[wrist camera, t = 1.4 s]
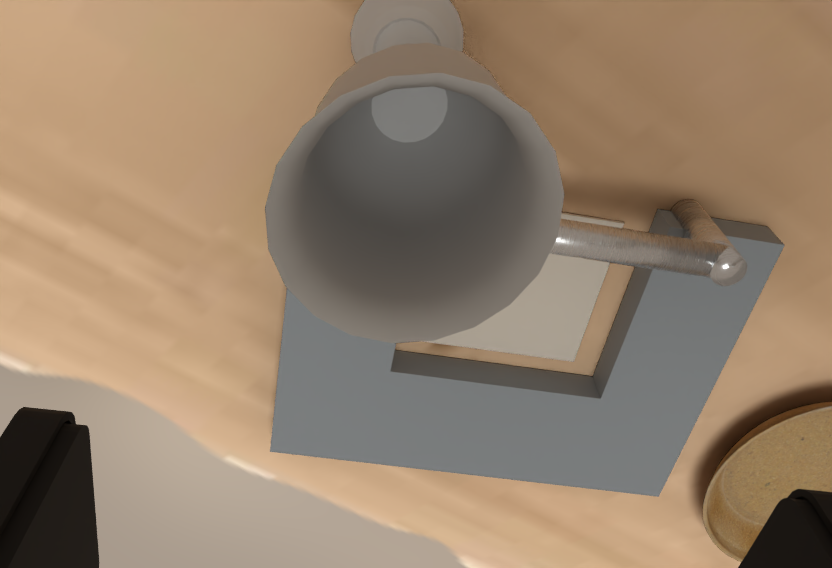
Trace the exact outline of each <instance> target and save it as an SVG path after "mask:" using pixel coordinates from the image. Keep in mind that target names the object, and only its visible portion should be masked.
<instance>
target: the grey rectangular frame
mask: <svg viewBox="0 0 832 568" xmlns="http://www.w3.org/2000/svg"><path fill="white" fill-rule="evenodd" d="M710 218H711V217H710ZM711 219H712V220H713V221H714V223H715V224H716V225H717V226H718V228H719V229H720V230H721V231H722V232H723V234H724V235H725V236H726V237H727V239H728V240H729V241H730V242H731V244H732V245H733V246H734V247H735V248H736V250H737V251H738V252H739V253H740V255H741V256H742V257H743V258H744V259H745V261H746V263H747V272H746V274H745V276H744V277H743V278H742V279H741V280H740V281H739V282H737V283H736V284H733V285H730V286H720V285H717V284H716V283H714V282H713V280H712V279H711V278H707V277H701V276H694V275H687V274H681V273H674V272H668V271H661V270H654V269H648V268H641V267H635V269H634V271H633V274H632V277H631V279H630V282H629V284H628V287H627V289H626V292H625V295H624V297H623V300H622V302H621V305H620V307H619V310H618V313H617V315H616V318H615V320H614V323H613V326H612V328H611V331H610V333H609V336H608V338H607V341H606V344H605V346H604V349H603V351H602V354H601V357H600V359H599V362H598V364H597V367H596V369H595V372H594V375H593V376H585V375H578V374H570V373H563V372H555V371H548V370H540V369H533V368H525V367H518V366H510V365H503V364H495V363H488V362H480V361H473V360H465V359H458V358H450V357H443V356H435V355H428V354H420V353H413V352H405V351H398V350H395V346H396V343H388V342H383V341H378V340H373V339H368V338H363V337H358V336H353V335H350V334H348V333H346V332H344V331H342V330H340V329H338V328H337V327H335V326H333V325H331V324H329V323H327V322H325V321H323V320H321V319H319V318H318V317H316V316H314V315H313V314H312V313H311V312H310V311H309V310H308V309H307V308H306V307H305V306H304V305H303V304H302V303H301V302H300V301H299V300H298V299H297V298H296V297H295V296H294V295H293V294H292V292H291V291H290V290H289V289H288V288H287V293H286V303H285V313H284V322H283V332H282V342H281V351H280V361H279V370H278V380H277V390H276V399H275V409H274V419H273V428H272V438H271V448H270V452H278V453H287V454H295V455H304V456H313V457H321V458H330V459H338V460H347V461H356V462H364V463H373V464H382V465H390V466H399V467H407V468H416V469H425V470H433V471H442V472H451V473H459V474H468V475H477V476H485V477H494V478H502V479H511V480H520V481H528V482H537V483H546V484H554V485H563V486H571V487H580V488H589V489H597V490H606V491H615V492H623V493H632V494H641V495H649V496H658V497H659V495H660V493H661V491H662V489H663V487H664V485H665V483H666V481H667V479H668V477H669V475H670V473H671V471H672V469H673V467H674V465H675V463H676V461H677V459H678V457H679V455H680V453H681V451H682V449H683V447H684V445H685V443H686V441H687V439H688V437H689V435H690V433H691V431H692V429H693V427H694V425H695V423H696V421H697V419H698V417H699V415H700V413H701V411H702V409H703V407H704V405H705V403H706V401H707V399H708V397H709V395H710V393H711V391H712V389H713V387H714V385H715V383H716V381H717V379H718V377H719V375H720V373H721V371H722V369H723V367H724V365H725V363H726V361H727V359H728V357H729V355H730V353H731V351H732V349H733V347H734V345H735V343H736V341H737V339H738V337H739V335H740V333H741V331H742V329H743V327H744V325H745V323H746V321H747V319H748V317H749V315H750V313H751V311H752V309H753V307H754V305H755V303H756V301H757V299H758V297H759V295H760V293H761V291H762V289H763V287H764V285H765V283H766V281H767V279H768V277H769V275H770V273H771V271H772V269H773V267H774V265H775V263H776V261H777V259H778V257H779V255H780V253H781V251H782V249H783V247H784V244H783V243H782V242H781V241H780V239H779V238H778V237H777V236H776V235H775V234H774V233H773V232H772V231H771V230H770V229H769V228H768V227H767V226H760V225H754V224H748V223H742V222H736V221H729V220H723V219H717V218H711ZM649 233H656V234H662V235H668V236H675V237H681V238H683V227H682V226H681V225H680V223H679V222H678V220H677V219H676V218H675V216H674V215H673V214H672V212H671V211H667V210H661V209H657V212H656V215H655V217H654V220H653V222H652V225H651V227H650V230H649Z"/></svg>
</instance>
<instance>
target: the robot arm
mask: <svg viewBox="0 0 832 568" xmlns="http://www.w3.org/2000/svg"><path fill="white" fill-rule="evenodd" d="M0 568H99V554H98V540H97V527H96V514H95V501H94V488H93V475H92V462H91V449H90V436H89V429H88V427H87V426H86V425H77V424H76V423H75V417H74V415H73V413H72V412H66V411H56V410H47V409H38V408H28V407H23V408H21V409H20V410H19V411H18V412H17V413H16V414H15V415H14V417H13V418H12V420H11V421H10V423H9V425H8V426H7V428H6V429H5V431H4V432H3V434H2V436H1V437H0ZM738 568H832V492H826V491H816V490H807V489H797V490H794V491H792V492H791V494H790V495H789V496H788V497H787V498H784V499H782V500H780V501H779V503H778V504H777V505H776V507H775V509H774V510H773V512H772V514H771V515H770V517H769V518H768V520H767V522H766V523H765V525H764V527H763V528H762V530H761V531H760V533H759V535H758V536H757V538H756V540H755V541H754V543H753V544H752V546H751V548H750V549H749V551H748V553H747V554H746V556H745V557H744V559H743V561H742V562H741V564H740V566H739V567H738Z"/></svg>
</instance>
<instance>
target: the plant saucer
mask: <svg viewBox="0 0 832 568" xmlns="http://www.w3.org/2000/svg"><path fill="white" fill-rule="evenodd" d="M797 489H807V490H816V491H826V492H832V402H824V403H816V404H811V405H806V406H802V407H798V408H795V409H792V410H789V411H786V412H784V413H781V414H779V415H776V416H774V417H772V418H770V419H768V420H766V421H765V422H763V423H762V424H760V425H758V426H757V427H755V428H754V429H753V430H751V431H750V432H749V433H747V434H746V435H745V436H744V437H743V438H741V439H740V440H739V441H738V442H737V443H736V444H735V445H734V446H733V447H732V448H731V450H730V451H729V452H728V453H727V454H726V456H725V457H724V458H723V459H722V461H721V462H720V464H719V465H718V467H717V469H716V471H715V473H714V474H713V476H712V478H711V481H710V483H709V486H708V488H707V492H706V494H705V498H704V502H703V521H704V525H705V528H706V531H707V533H708V534H709V536H710V538H711V540H712V541H713V543H714V544H715V545H716V546H717V547H718V548H719V549H720V550H721V551H722V552H724V553H725V554H726V555H728V556H730V557H731V558H734V559H735V560H737V561H740V562H742V561H743V559H744V557H745V556H746V554H747V553H748V551H749V549H750V548H751V546H752V544H753V543H754V541H755V540H756V538H757V536H758V535H759V533H760V531H761V530H762V528H763V527H764V525H765V523H766V522H767V520H768V518H769V517H770V515H771V514H772V512H773V510H774V509H775V507H776V505H777V504H778V503H779V501H780V500H782V499H784V498H787V497H788V496H789V495H790V494H791V492H792V491H794V490H797Z"/></svg>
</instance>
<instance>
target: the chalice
mask: <svg viewBox="0 0 832 568" xmlns="http://www.w3.org/2000/svg"><path fill="white" fill-rule="evenodd" d="M350 34H351V52H352V54H353V57H354V60H355V62H356V64H354V65H353V66H352V67H351V68H349V69H348V70H347V71H346V72H345V73H343V74H342V75H341V76H340V77H338V78H337V79H336V80H335V82H334V83H333V85H332V86H331V88H330V89H329V91H328V92H327V94H326V95H325V97H324V98H323V100H322V101H321V103H320V104H319V106H318V107H317V111H316V114H315V117H313V118H312V119H311V120H310V121H308V122H307V123H306V124H305V125H304V126H302V128H301V129H300V131H299V132H298V134H297V135H296V137H295V138H294V140H293V141H292V143H291V144H290V146H289V147H288V149H287V150H286V152H285V153H284V155H283V156H282V158H281V159H280V161H279V162H278V164H277V165H276V169H275V173H274V176H273V180H272V184H271V187H270V191H269V195H268V199H267V202H266V206H265V213H266V225H267V238H268V249H269V252H270V254H271V256H272V258H273V260H274V262H275V265H276V267H277V269H278V271H279V273H280V275H281V278H282V280H283V282H284V284H285V286H286V287H287V288H288V289H289V290H290V291H291V292H292V294H293V295H294V296H295V297H296V298H297V299H298V300H299V301H300V302H301V303H302V304H303V305H304V306H305V307H306V308H307V309H308V310H309V311H310V312H311V313H312V314H313V315H314V316H316V317H318V318H319V319H321V320H323V321H325V322H327V323H329V324H331V325H333V326H335V327H337V328H338V329H340V330H342V331H344V332H346V333H348V334H350V335H353V336H358V337H363V338H368V339H373V340H378V341H383V342H388V343H403V342H419V341H434V340H437V339H440V338H443V337H446V336H449V335H453V334H456V333H459V332H462V331H465V330H468V329H471V328H474V327H476V326H477V325H479V324H481V323H482V322H484V321H485V320H487V319H488V318H490V317H492V316H493V315H495V314H496V313H498V312H500V311H501V310H503V309H504V308H506V307H508V306H509V305H510V304H511V303H512V302H513V301H514V300H515V299H516V298H517V297H518V296H519V295H520V294H521V293H522V292H523V291H524V290H525V288H526V287H527V286H528V285H529V284H530V283H531V282H532V281H533V280H534V279H535V278H536V277H537V276H538V275H539V273H540V271H541V269H542V267H543V265H544V263H545V261H546V259H547V257H548V255H549V253H550V251H551V249H552V247H553V245H554V243H555V241H556V239H557V237H558V233H559V226H560V220H561V213H562V207H563V200H564V190H563V185H562V180H561V175H560V171H559V166H558V161H557V156H556V151H555V150H554V148H553V147H552V145H551V144H550V142H549V141H548V139H547V138H546V136H545V135H544V133H543V132H542V130H541V129H540V127H539V126H538V124H537V123H536V121H535V120H534V118H533V117H532V115H531V114H530V113H529V112H528V111H526V110H525V109H523V108H522V107H520V106H519V105H518V104H516V103H515V102H513V101H512V100H510V99H509V98H508V97H506V95H505V94H504V92H503V91H502V89H501V88H500V86H499V85H498V83H497V82H496V80H495V79H494V77H493V76H492V74H491V73H490V71H489V70H487V69H486V68H484V67H483V66H482V65H480V64H479V63H477V62H476V61H474V60H473V59H472V58H470V57H469V56H467V55H466V54H465V53H463V52H462V50H463V27H462V24H461V21H460V17H459V14H458V12H457V10H456V9H455V7H454V6H453V5H452V3H451V2H450V0H365V1H364V2H363V4H362V5H361V7H360V8H359V10H358V12H357V13H356V15H355V18H354V22H353V25H352V29H351V33H350Z"/></svg>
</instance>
